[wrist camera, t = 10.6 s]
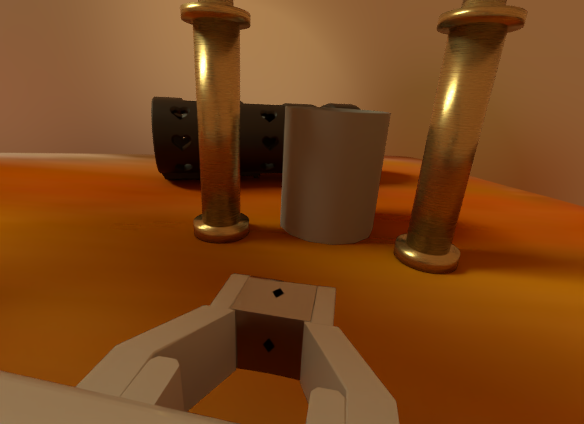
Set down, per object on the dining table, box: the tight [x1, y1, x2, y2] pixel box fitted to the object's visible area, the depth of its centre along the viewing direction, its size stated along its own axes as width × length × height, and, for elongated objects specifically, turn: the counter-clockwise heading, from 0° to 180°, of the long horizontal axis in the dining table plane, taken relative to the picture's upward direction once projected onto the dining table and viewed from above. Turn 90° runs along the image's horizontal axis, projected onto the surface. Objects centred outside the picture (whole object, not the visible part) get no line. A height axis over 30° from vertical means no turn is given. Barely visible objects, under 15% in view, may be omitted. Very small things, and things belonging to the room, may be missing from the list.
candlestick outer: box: [394, 0, 527, 274], centre depth 19 cm, size 4×4×22 cm
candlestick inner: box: [180, 0, 250, 243], centre depth 22 cm, size 4×4×22 cm
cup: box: [281, 106, 391, 245], centre depth 26 cm, size 8×8×10 cm
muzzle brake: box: [151, 97, 361, 180], centre depth 41 cm, size 10×28×10 cm, turn 107°
